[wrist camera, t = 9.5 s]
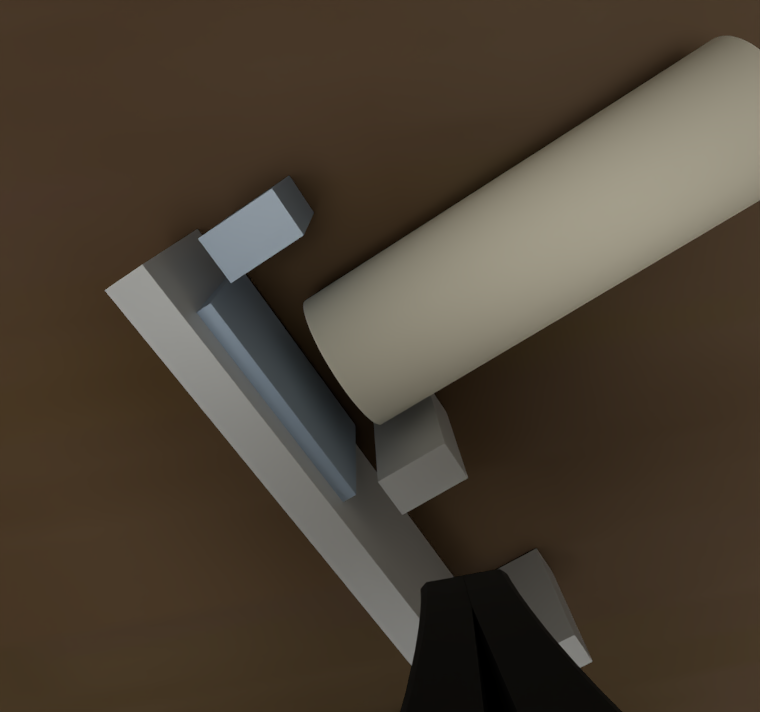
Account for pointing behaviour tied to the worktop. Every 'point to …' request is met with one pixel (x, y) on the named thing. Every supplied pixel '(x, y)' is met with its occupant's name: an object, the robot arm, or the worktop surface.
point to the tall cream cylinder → (548, 233)
